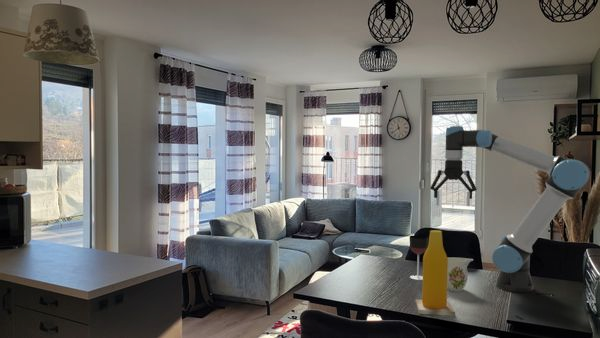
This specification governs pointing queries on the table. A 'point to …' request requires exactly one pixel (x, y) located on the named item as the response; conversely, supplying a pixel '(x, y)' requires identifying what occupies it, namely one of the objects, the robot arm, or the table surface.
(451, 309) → the birch board
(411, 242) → the wineglass
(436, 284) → the beer bottle
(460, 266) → the pitcher
